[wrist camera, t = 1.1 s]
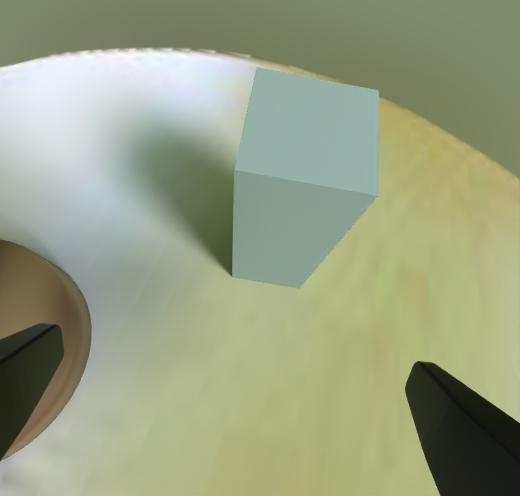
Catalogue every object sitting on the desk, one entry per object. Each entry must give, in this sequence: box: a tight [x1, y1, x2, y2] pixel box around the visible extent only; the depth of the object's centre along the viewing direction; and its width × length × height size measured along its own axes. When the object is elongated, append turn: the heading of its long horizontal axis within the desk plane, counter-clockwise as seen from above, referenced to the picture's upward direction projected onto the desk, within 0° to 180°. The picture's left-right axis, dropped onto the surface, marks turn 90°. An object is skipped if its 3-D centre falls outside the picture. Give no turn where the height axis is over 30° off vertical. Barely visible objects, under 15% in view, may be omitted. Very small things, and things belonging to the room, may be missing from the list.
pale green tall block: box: [232, 67, 379, 288], centre depth 17 cm, size 5×5×13 cm
